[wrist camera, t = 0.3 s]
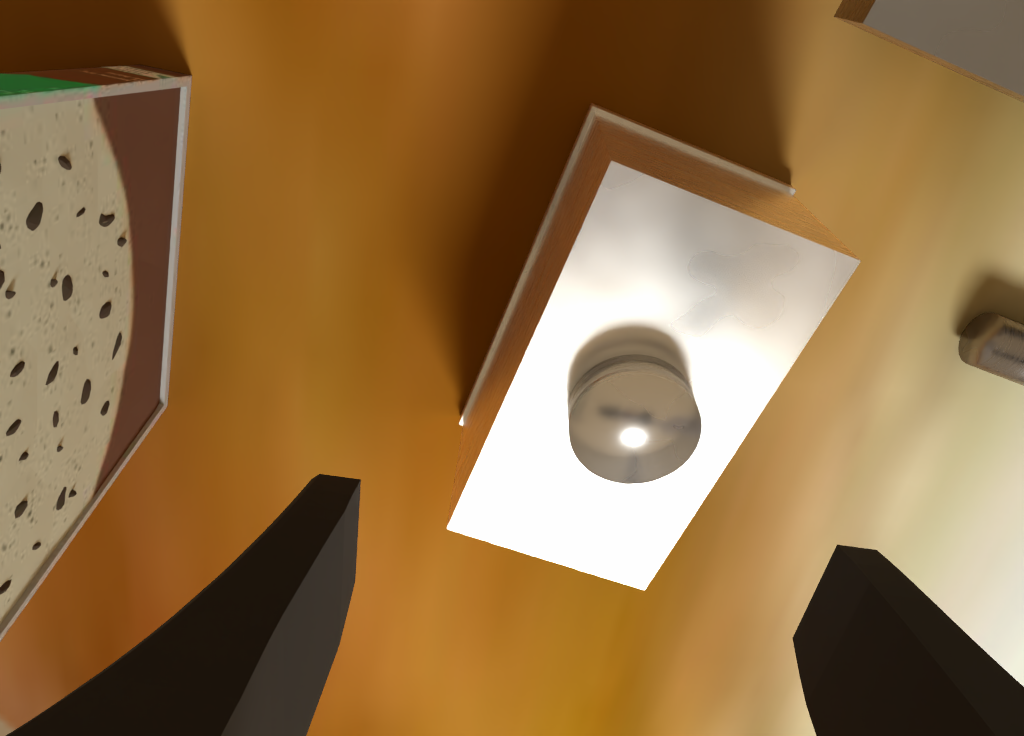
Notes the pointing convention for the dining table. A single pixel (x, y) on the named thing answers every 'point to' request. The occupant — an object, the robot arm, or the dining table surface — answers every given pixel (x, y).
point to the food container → (81, 295)
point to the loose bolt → (994, 346)
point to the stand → (952, 35)
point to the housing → (637, 349)
